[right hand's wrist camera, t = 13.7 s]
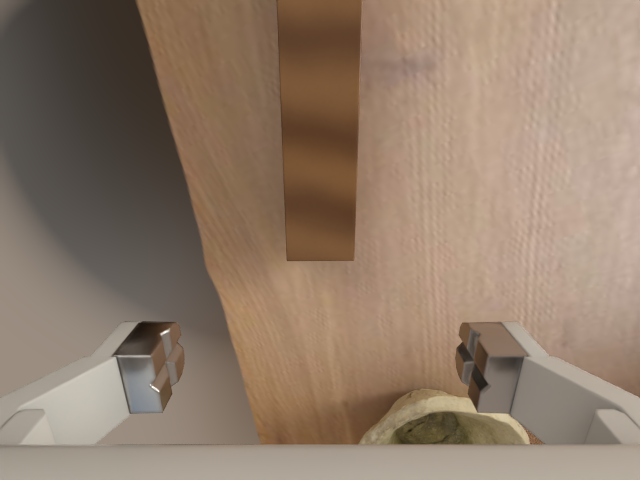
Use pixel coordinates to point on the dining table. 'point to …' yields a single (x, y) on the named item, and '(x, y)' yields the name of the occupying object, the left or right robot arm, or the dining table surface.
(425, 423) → the bowl
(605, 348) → the dining table surface
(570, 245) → the dining table surface
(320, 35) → the post
